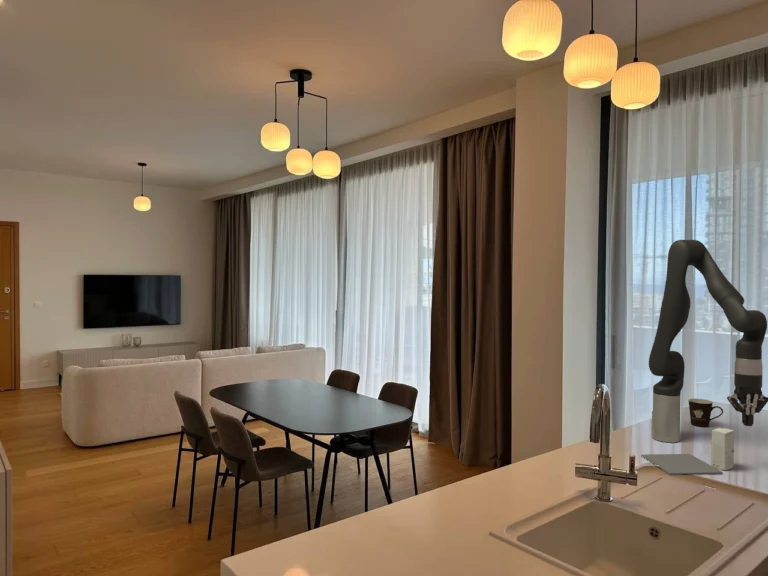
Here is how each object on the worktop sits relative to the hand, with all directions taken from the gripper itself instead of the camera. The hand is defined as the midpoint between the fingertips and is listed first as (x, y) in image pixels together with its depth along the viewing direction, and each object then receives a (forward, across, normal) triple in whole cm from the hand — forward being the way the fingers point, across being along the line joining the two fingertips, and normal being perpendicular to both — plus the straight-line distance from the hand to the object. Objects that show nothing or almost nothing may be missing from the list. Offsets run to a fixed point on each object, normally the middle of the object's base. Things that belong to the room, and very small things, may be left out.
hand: (747, 425), depth 175 cm
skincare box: (+14, +8, 0) cm, 16 cm away
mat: (+13, +20, -3) cm, 25 cm away
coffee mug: (+13, -15, -45) cm, 50 cm away
